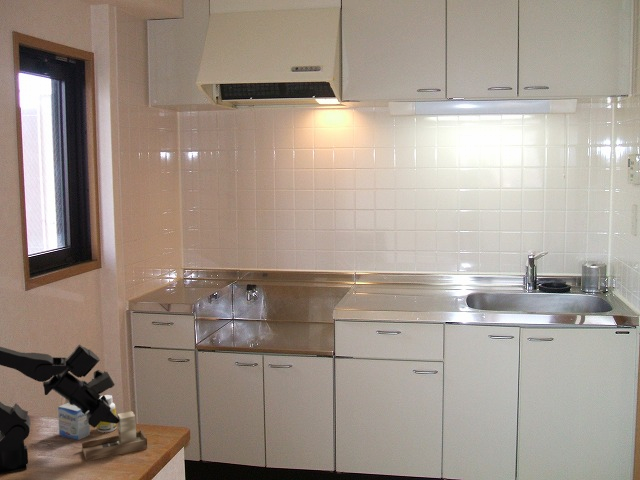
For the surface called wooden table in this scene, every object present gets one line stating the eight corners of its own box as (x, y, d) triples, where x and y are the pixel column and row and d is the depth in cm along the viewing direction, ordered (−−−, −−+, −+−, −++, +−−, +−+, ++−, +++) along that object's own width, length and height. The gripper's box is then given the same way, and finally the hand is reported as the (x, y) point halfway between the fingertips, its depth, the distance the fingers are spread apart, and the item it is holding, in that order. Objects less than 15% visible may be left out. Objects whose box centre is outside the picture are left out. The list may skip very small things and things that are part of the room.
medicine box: (58, 435, 196) (57, 406, 195) (71, 430, 200) (69, 401, 199) (78, 440, 192) (76, 411, 191) (90, 435, 196) (89, 406, 195)
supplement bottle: (110, 424, 204) (109, 392, 203) (120, 429, 200) (118, 396, 199) (93, 429, 200) (92, 397, 199) (103, 434, 196) (101, 401, 195)
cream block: (121, 447, 185) (120, 418, 184) (118, 441, 188) (117, 413, 187) (136, 444, 187) (135, 416, 186) (133, 438, 190) (132, 411, 189)
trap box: (86, 460, 179) (85, 450, 179) (82, 450, 186) (81, 440, 185) (147, 448, 187) (146, 438, 186) (141, 439, 193) (141, 429, 192)
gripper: (99, 375, 173) (145, 409, 179) (89, 356, 189) (131, 387, 196) (68, 410, 170) (116, 443, 177) (60, 388, 187) (104, 419, 193)
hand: (118, 421), depth 186 cm, fingers closed, pressing on cream block
